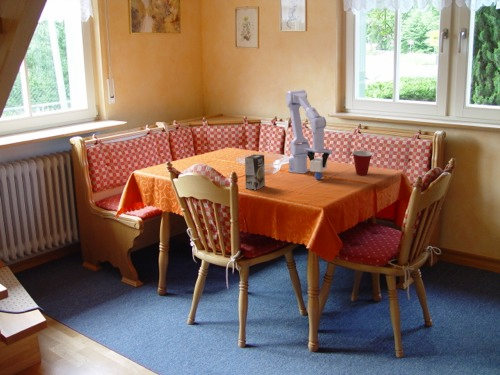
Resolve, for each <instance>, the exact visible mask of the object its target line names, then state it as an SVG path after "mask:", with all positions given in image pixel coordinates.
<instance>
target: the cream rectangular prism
mask: <svg viewBox="0 0 500 375" xmlns="http://www.w3.org/2000/svg"><path fill="white" fill-rule="evenodd" d="M327 168H328V161H327V162H326V166H325V167H324V168H323V159H322V157H319V156H317V157H316V156H315V157H314V159H313V160H311V161H310V160H309V169H310V170H309V172H313V173H314V172H315V173H316V172H321V173H322V172H323V171H324V170H326V169H327Z"/></svg>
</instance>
